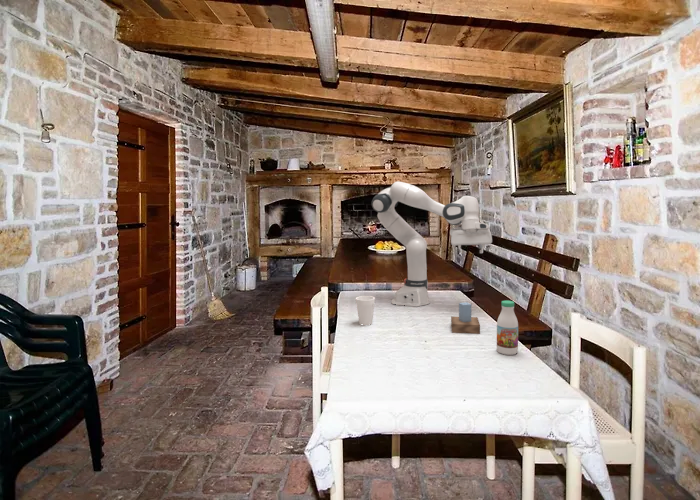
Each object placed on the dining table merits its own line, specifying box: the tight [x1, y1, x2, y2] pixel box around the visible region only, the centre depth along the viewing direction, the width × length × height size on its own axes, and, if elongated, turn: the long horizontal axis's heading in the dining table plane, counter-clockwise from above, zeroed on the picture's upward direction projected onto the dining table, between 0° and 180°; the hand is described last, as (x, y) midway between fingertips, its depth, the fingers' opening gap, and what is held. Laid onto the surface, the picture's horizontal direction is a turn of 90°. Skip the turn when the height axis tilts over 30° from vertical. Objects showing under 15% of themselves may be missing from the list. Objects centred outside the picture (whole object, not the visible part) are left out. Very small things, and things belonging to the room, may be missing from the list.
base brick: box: [450, 316, 481, 335], centre depth 178 cm, size 12×12×4 cm
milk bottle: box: [496, 300, 519, 356], centre depth 149 cm, size 8×8×20 cm
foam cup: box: [355, 295, 376, 326], centre depth 190 cm, size 10×9×13 cm
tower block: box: [458, 301, 472, 322], centre depth 177 cm, size 4×4×8 cm
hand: (471, 253), depth 197 cm, fingers open, 8 cm apart
